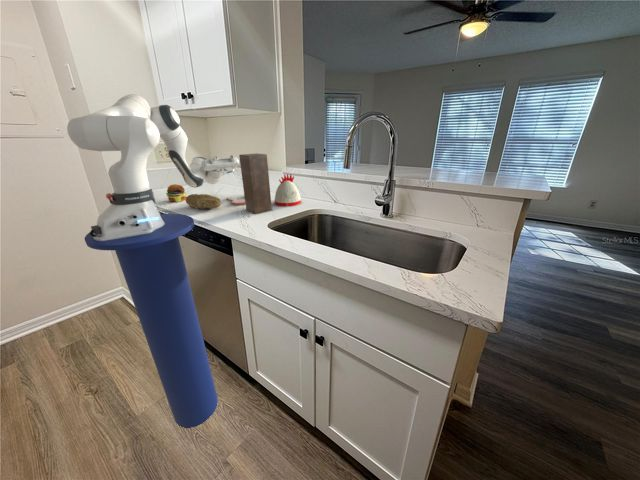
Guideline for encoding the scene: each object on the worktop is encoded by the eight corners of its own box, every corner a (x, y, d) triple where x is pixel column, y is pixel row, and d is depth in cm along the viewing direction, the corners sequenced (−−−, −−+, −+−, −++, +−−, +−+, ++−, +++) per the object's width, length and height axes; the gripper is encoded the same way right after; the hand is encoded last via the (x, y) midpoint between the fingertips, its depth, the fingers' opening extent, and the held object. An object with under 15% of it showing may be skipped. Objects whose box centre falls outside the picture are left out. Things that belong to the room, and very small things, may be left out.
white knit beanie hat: (305, 203, 137) (303, 174, 131) (280, 207, 131) (278, 177, 125) (294, 198, 148) (293, 171, 142) (271, 201, 142) (269, 173, 136)
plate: (236, 206, 135) (236, 203, 134) (222, 199, 148) (221, 197, 148) (251, 203, 140) (251, 201, 139) (235, 197, 153) (235, 195, 153)
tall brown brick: (255, 213, 121) (248, 155, 111) (246, 210, 127) (239, 154, 117) (271, 210, 127) (266, 154, 117) (262, 206, 133) (256, 153, 123)
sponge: (184, 209, 135) (195, 208, 120) (183, 194, 134) (194, 191, 119) (210, 209, 144) (224, 208, 129) (209, 194, 143) (223, 192, 128)
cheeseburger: (167, 203, 142) (163, 184, 140) (169, 203, 151) (164, 186, 150) (188, 200, 146) (183, 182, 144) (188, 201, 156) (184, 184, 154)
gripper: (197, 164, 145) (202, 152, 134) (232, 161, 157) (239, 150, 146) (201, 175, 145) (207, 164, 134) (235, 171, 157) (243, 161, 146)
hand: (224, 157), depth 140 cm, fingers open, 8 cm apart
